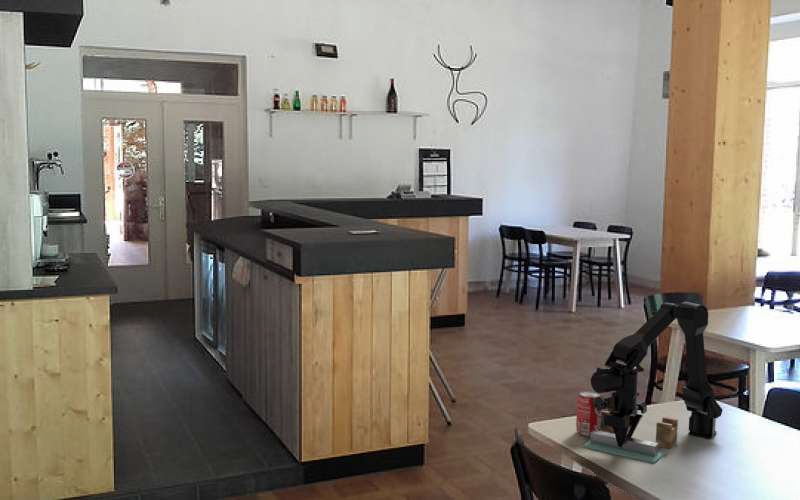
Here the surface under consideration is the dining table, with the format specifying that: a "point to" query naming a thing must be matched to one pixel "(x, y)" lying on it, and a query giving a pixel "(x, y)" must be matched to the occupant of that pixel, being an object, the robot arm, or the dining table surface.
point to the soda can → (587, 414)
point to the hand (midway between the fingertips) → (623, 443)
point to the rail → (629, 444)
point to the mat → (624, 452)
